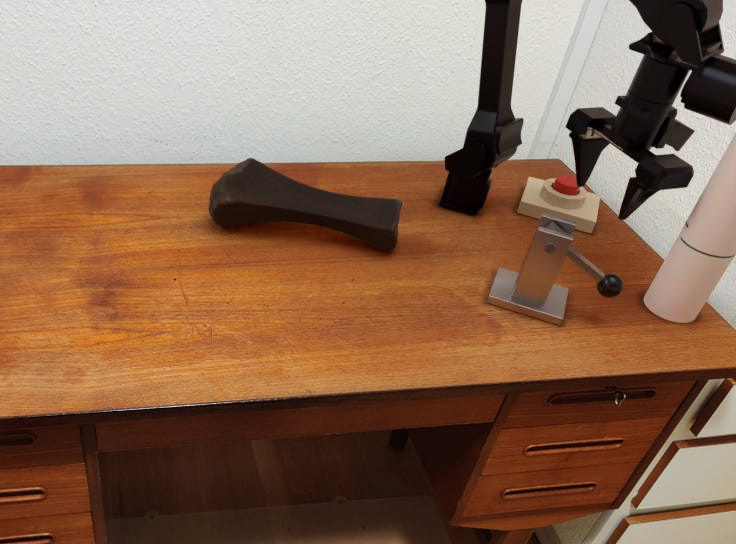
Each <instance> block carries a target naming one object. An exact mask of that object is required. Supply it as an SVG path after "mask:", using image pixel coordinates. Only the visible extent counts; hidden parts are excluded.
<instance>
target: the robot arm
mask: <svg viewBox="0 0 736 544" xmlns="http://www.w3.org/2000/svg"><path fill="white" fill-rule="evenodd" d="M628 1H629V2H630V3H631V4H632V5H633V6H634V8H635V9H636V10H637V12H638V14H639V16H640V18H641V20H642V22H643V23H644V25H646V26H647V27H648V29H650V32H648V33H647V34H645V35H644V36H643V37H642V38H640V39H638V40H636V41H634V42H630V43H629V45H628V49H629V50H630V51H633V52H636V53H639V54H642V55H643V56H642V58H641V59H640V62H639V65H638V67H637V69H636V71H635V73H634V75H633V77H632V80H631V83H630V84H629V87H628V89H627V91H626V92H625V93H626V94H625V95H617V97H616V99H615V102H614V104H615V105H616V106H617V107H619V109H618V111H617V113H616V115H615V114H614V113H612V112H611V111H609V110H608V109H606V108H605V107H603V106H597V107H579V108H576V109H575V110H574V111H573V112H571V113H570V114H569V117H568V119H567V122H566V124H565V127H564V128H565V129H567V130H568V131H570V132H569V133H568V137H569V138H570V139H571V144H572V145H571V146H572V151H573V157H574V166H575V178H576V180H577V186H578V187H583V188H584V187H585V186H586V184H587V182H588V181H589V179H590V177H591V175H592V173H593V171H594V169H595V166H596V164H597V163H598V160H599V159H600V157H601V154H602V152H603V151H604V150H605V149H606V148H607V147H608V146H609V145H612V146H613V147H615V148H616V149H617V150H619V151H620V152H622V153H623V154H625V155H626V156H627V157H629V158H630V159H631V160H633V161H634V162H636V163H637V165H636V166H635V169H634V173H635V176H632V177H631V176H630V177H629V178H628V182H627V185H626V188H625V192H624V195H623V198H622V202H621V205H620V208H619V212H618V220H619V221H624V220H627V219H628V218H629V217H630V216H631V215H633V213H635V211H637V210H638V209H639V208H640V207H641V206H642V205H643V204H644V203H645V202H647V200H649V199H650V198H651V197H653V196H654V195H655V194H657V193H658V192H660V191H664V190H665V191H666V190H674V189H675V190H677V189H685V188H688V186H689V184H690V183H691V181H692V179H693V178H694V174H695V170H694V167H693V165H691V164H690V163H689V162H687V161H686V160H684V159H682V158H681V157H679V156H678V155H676V154H675V153H666V154H656V153H654V152H652V151H651V149H652V148H655V149H656V150H658V149H664V148H665V146H666V145H667V146H668V147H671V148H672V149H673V150H674V151H675V152H680V150H681V149H682V148H683V147H684V145H685V144H686V143H687V142H688V140H689V139H690V138H691V137H692V135H693V134H694V133H695V131H696V130H694V129H693V128H692V127H690V126H688V125H686V124H685V123H683V122H681V120H678V119H676V117H677V115H678V108H676V107H674V106H673V105H674V103H675V101H676V99H677V97H678V96H679V95H680V98H681V99H680V103H681V104H683V109H685V110H688V111H689V112H693V113H696V114H699V115H702V116H704V117H707V118H709V119H712V120H715V121H717V122H720V123H723V124H725V125H728V126H732V125H733V124H734V123H735V122H736V59H734V58H732V57H729V56H726V55H723V53H724V52H725V47H724V46H725V45H724V41H723V35H722V30H721V23H720V21H721V18H722V15H723V12H724V0H628ZM522 3H523V0H484V5H485V12H484V23H483V24H484V25H483V36H482V47H481V59H480V60H481V61H480V70H479V71H480V72H479V83H478V84H479V85H478V97H477V107H476V110H475V112H474V115H473V117H472V119H471V120H470V123H469V124H468V127H467V128H466V133H465V136H464V141H463V146H462V148H460V149H458V150H456V151H453V152H452V153H449V154H447V155H446V156H444V170H445V171H446V172H448V173H447V177H446V180H445V184H444V187H443V190H442V194H441V196H440V197H439V199H438V202H437V205H438V206H439V207H444V208H447V209H450V210H454V211H457V212H460V213H464V214H468V215H472V216H477V215H478V214H479V211H480V210H481V209H483V208H484V206H485V204H486V201H487V199H488V196H489V192H490V189H491V187H492V183H493V179H492V178H491V175H492V171H493V169H495V168H497V167H499V165H501V164H502V163H505V162H506V161H508V160H509V159H510V158H512V157H514V155H515V154H516V153H517V150H518V147H519V146H521V145H522V144H523V141H522V130H523V127H524V123H525V122H524V118H523V117H515V114H514V112H513V109H512V99H513V98H512V96H513V89H514V88H513V87H514V78H515V68H516V58H517V48H518V40H519V30H520V21H521V13H522V5H523V4H522ZM690 71H691V72H690ZM689 73H690V74H689ZM688 75H689V76H688Z"/></svg>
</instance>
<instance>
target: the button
mask: <svg viewBox="0 0 736 544" xmlns="http://www.w3.org/2000/svg"><path fill="white" fill-rule="evenodd" d="M555 178H556V179H555V182H554V184H553V187H552V188H553V189H554V190H555V191H557V192H559V193H561V194H565V195H572V196H575V195H577V193H578V191H579V188H580V187H578V186H577V180H576V177H574V176H571V175H567V174H559V175H557V176H556V177H555Z"/></svg>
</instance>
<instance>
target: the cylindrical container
mask: <svg viewBox="0 0 736 544" xmlns="http://www.w3.org/2000/svg"><path fill="white" fill-rule="evenodd" d="M720 158H721V159H720V160H719V162H718V164H717V165H716V168H715V169H714V171H713V173H712V175H711V176H710V178H709V180H708V182H707V184H706V186H704V188H703V190H702V192H701V194H700V195H699V197H698V199H697V201H696V203H695V205H694V207H693V209H692V210H691V212H690V213H689V215H688V218H687V219H686V221H685V223H684V224H683V227H682V228H681V230H680V232H679V234H678V235H677V237H676V239H675V240H674V242H673V244H672V246H671V248H670V250H669V251H668V253H667V255H666V257H665V258H664V260H663V262H662V264H661V266H660V268H659V269H658V271H657V273H656V274H655V276H654V278H653V280H652V281H651V283H650V285H649V287H648V289H647V291H646V292H645V294H644V297H643V303H644V305H645V307H646V308H647V309H648V311H650V312H651V313H653V314H654V315H656V316H658V317H659V318H661V319H663V320H666V321H669V322H672V323H673V322H674V323H680V324H688V323H692V322H694V321H695V320H696V318H697V317H698V315H699V314H700V312H701V310H702V309H703V307H704V306H705V304H706V303H707V301H708V300H709V298H710V296H711V295H712V293H713V291H714V290H715V288H716V287H717V285H718V284H719V282H720V281H721V278H723V276H724V274H725V273H726V272H727V269H728V268H729V266H730V265H731V263H732V261H733V260H734V258H735V257H736V132H735V133H734V135H733V137H732V138H731V141H730V142H729V144H728V146H727V148H726V149H725V151H724V153H723V155H722V157H720Z"/></svg>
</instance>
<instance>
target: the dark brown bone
mask: <svg viewBox="0 0 736 544" xmlns="http://www.w3.org/2000/svg"><path fill="white" fill-rule="evenodd" d="M209 193H210V195H209V204H208V214H209V216H210V217H211V219H212V220H213V221H214V222H215V224H216V225H218V226H220V227H222V228H223V227H224V228H225V227H237V226H243V225H250V224H251V225H252V224H261V223H276V222H277V223H294V224H305V225H311V226H315V227H319V228H324V229H328V230H332V231H335V232H339V233H341V234H345V235H348V236H349V237H352V238H356V239H357V240H360V241H362V242H364V243H367V244H369V245H371V246H373V247H375V248H377V249H379V250H382V251H393V250H395V248H396V246H397V245H398V240H399V239H398V238H399V229H398V227H399V223H400V218H401V217H400V213H401V210H402V207H403V201H401V199H397V198H386V197H370V196H369V197H368V196H358V195H351V194H343V193H338V192H332V191H328V190H324V189H320V188H317V187H314V186H311V185H309V184H305V183H302V182H301V181H297V180H295V179H293V178H291V177H288V176H286V174H285V175H284V174H283V173H280V172H278V171H277V170H275V169H273V168H272V167H270V166H267V165H266V164H264V163H262V162H261V161H259V160H257V159H256V158H253V157H249V158H246V159H245V160H242V161H240V162H239V163H238V164H236V165H234V166H233V167H231V168H230V169H229V170H226V171H225V172H223V173H222V174H221V175H220V177H219V179H217V180H216V181H214V182H213V184H212V186H211V189H210V192H209Z"/></svg>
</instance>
